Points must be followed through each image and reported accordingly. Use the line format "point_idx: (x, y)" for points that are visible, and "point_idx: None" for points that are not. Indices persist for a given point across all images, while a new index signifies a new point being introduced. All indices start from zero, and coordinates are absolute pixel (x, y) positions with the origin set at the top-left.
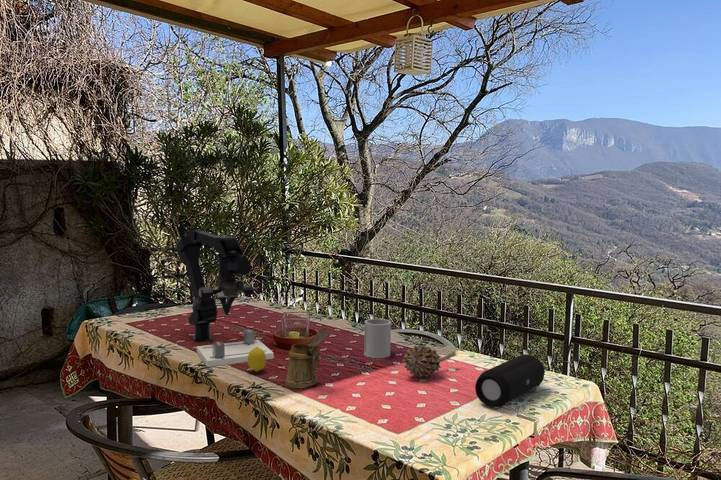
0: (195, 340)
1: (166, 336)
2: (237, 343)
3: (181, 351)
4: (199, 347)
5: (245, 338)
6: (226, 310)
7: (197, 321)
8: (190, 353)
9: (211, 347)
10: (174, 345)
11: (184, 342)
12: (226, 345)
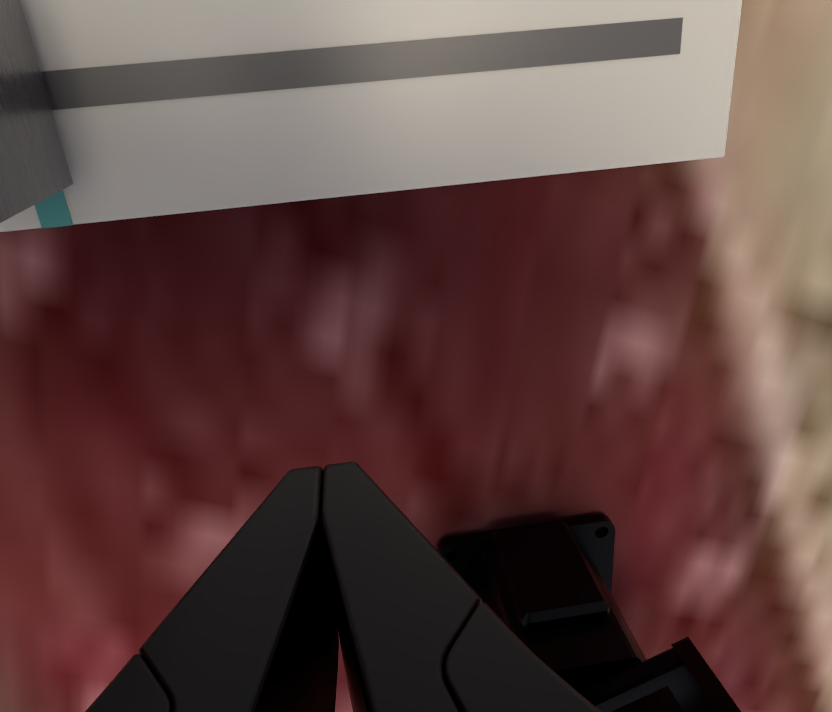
0: (611, 526)
1: (773, 706)
2: (173, 128)
3: (816, 229)
4: (708, 90)
5: (3, 55)
6: (344, 523)
7: (709, 676)
8: (760, 114)
9: (566, 27)
10: (803, 455)
11: (697, 526)
12: (346, 56)
